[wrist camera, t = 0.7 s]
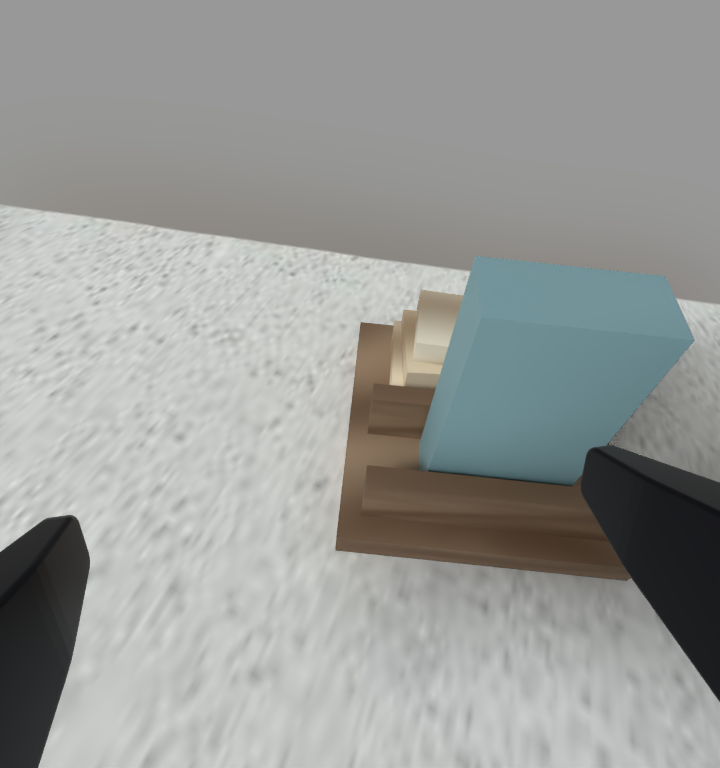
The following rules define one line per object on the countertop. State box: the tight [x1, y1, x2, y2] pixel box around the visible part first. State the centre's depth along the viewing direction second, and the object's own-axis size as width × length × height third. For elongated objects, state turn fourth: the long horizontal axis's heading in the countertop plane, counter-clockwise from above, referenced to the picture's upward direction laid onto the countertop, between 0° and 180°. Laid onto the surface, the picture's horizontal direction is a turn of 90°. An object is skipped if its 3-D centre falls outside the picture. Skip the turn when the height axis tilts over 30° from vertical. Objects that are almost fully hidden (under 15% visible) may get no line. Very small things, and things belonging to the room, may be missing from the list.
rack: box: [336, 322, 631, 581], centre depth 27 cm, size 14×14×4 cm
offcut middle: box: [400, 310, 443, 390], centre depth 28 cm, size 5×9×1 cm, turn 89°
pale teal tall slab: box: [419, 256, 694, 487], centre depth 21 cm, size 3×6×12 cm, turn 85°
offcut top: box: [412, 290, 463, 365], centre depth 27 cm, size 4×8×1 cm, turn 82°
